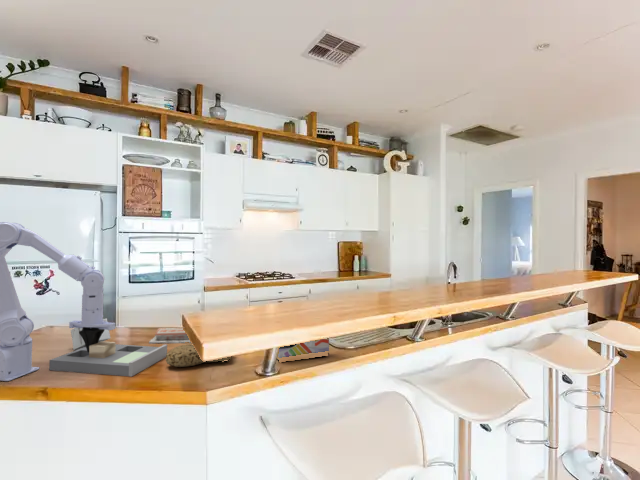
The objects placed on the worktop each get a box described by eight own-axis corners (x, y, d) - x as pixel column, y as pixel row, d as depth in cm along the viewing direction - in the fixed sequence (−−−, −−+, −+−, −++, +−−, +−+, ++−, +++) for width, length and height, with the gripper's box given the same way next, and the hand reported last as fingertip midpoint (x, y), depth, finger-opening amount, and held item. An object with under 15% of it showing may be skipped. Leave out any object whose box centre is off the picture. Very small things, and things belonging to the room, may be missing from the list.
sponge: (231, 358, 122) (172, 348, 118) (236, 338, 121) (176, 327, 117) (226, 380, 109) (160, 370, 105) (232, 357, 108) (165, 346, 104)
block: (103, 358, 107) (104, 346, 107) (89, 357, 107) (89, 345, 107) (115, 353, 112) (115, 342, 112) (101, 352, 112) (101, 341, 112)
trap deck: (131, 376, 101) (132, 362, 101) (49, 370, 104) (49, 356, 104) (167, 356, 118) (167, 344, 118) (95, 351, 122) (95, 340, 122)
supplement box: (69, 330, 124) (84, 321, 118) (92, 326, 130) (108, 317, 124) (72, 350, 123) (88, 343, 116) (95, 345, 129) (111, 338, 122)
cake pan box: (276, 364, 113) (277, 310, 113) (272, 359, 118) (273, 307, 118) (329, 358, 120) (331, 307, 121) (324, 353, 125) (325, 304, 125)
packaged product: (202, 325, 144) (197, 331, 134) (202, 337, 144) (197, 344, 134) (157, 325, 142) (148, 332, 132) (157, 337, 142) (148, 345, 132)
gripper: (122, 307, 113) (121, 348, 113) (82, 305, 115) (81, 346, 115) (106, 311, 106) (105, 355, 106) (63, 309, 108) (62, 352, 108)
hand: (91, 351), depth 110 cm, fingers closed
